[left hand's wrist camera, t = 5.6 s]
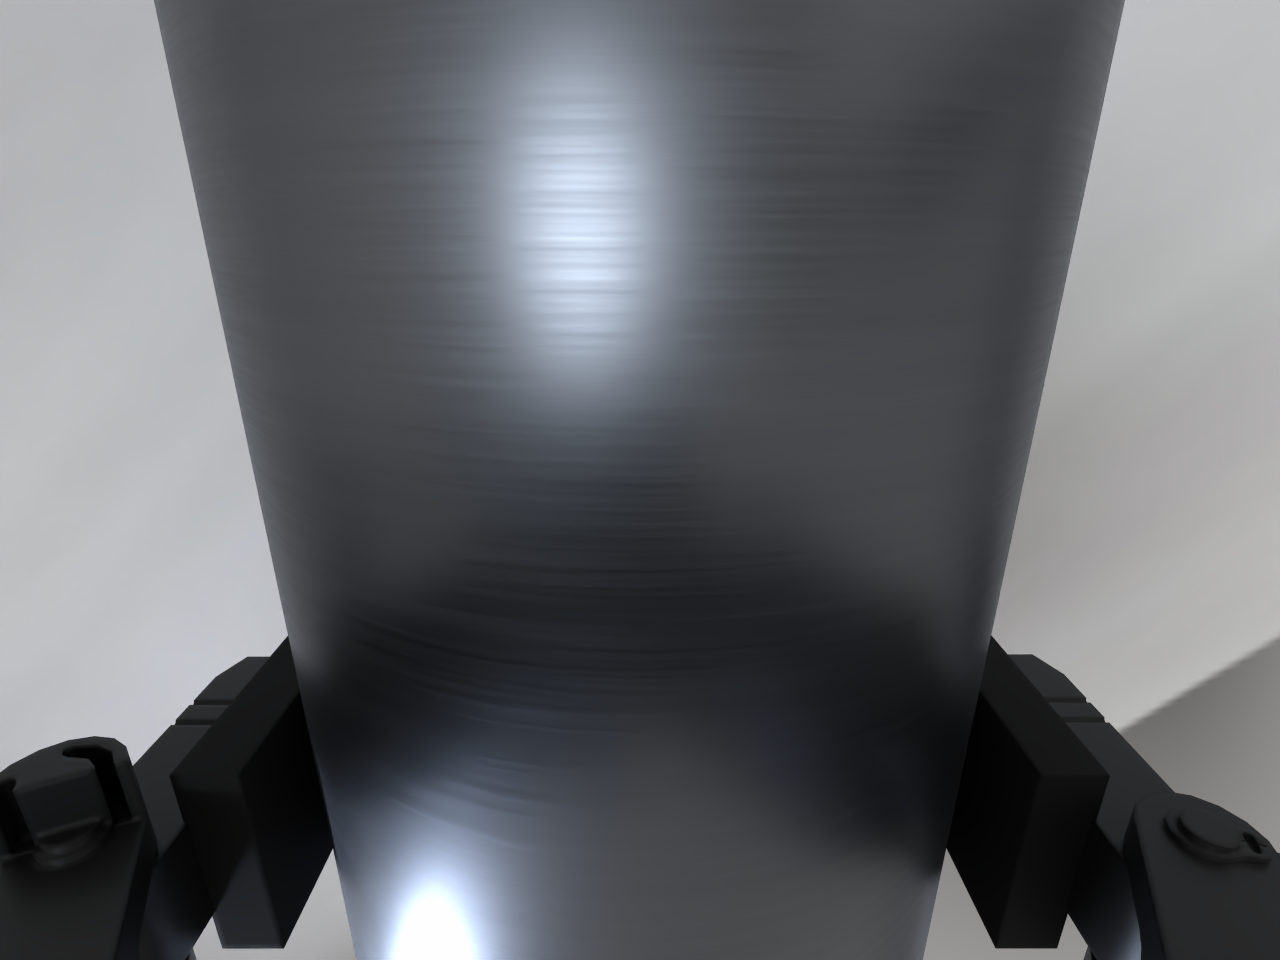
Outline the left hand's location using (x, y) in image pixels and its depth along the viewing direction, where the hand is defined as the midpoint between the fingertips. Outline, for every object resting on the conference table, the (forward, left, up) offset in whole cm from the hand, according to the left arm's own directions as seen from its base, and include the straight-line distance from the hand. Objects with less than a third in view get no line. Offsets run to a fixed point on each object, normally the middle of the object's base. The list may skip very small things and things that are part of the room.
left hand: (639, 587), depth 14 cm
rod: (+10, 0, -1) cm, 10 cm away
